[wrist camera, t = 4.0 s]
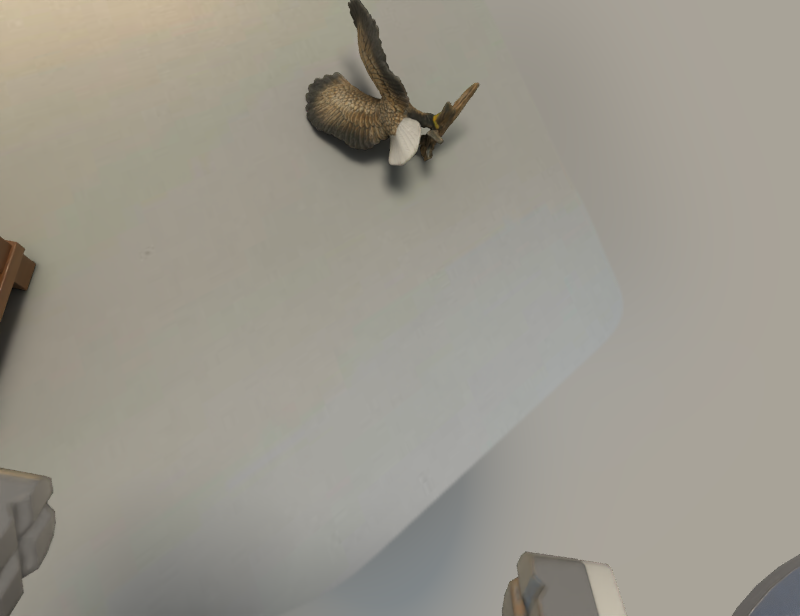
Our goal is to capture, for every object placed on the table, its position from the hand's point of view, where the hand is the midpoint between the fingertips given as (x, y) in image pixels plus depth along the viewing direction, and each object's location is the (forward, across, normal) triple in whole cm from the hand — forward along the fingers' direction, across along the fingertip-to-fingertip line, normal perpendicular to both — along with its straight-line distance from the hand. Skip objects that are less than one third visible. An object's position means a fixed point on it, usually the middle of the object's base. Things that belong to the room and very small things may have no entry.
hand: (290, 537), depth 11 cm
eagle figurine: (+34, 0, +1) cm, 34 cm away
